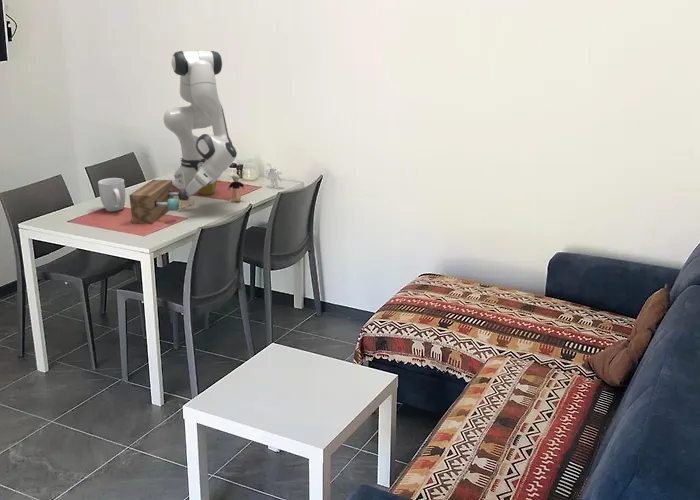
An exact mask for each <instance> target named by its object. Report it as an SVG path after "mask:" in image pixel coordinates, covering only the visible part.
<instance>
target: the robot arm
mask: <svg viewBox="0 0 700 500" xmlns="http://www.w3.org/2000/svg"><path fill="white" fill-rule="evenodd" d="M171 67H172V70H173V72H174V73H175V74H176V75H178V76H180V77H179V81H180V82H179V96H180V97H181V98H182V100H183V101H185V102H187V103H190V105H188V106H187V105H186V106H176V107H172V108H170V109H167V110H165V112H164V113H163V124H164V126H165V127H166V128H167V130H169V131H171V132H172V133H173V134H174V135H175V136H176V137H177V139H178V141H179V144H180V149H181V156H182V157H181V158H180V166H179V167H178V168H177V169H176V170H175V172H174V175H173V176H174V179H173V180H172V183H173V187H175V188H177V189H178V190H180V189H186V190H185V191H186V192H187V194H186V195H187V196H188V197H189V198H190V197H192V196H193V195H195V194H197V192H199V191H198V190H200V189H201V188H202V187H204V186H206V185H208V184H213V183H214V182H215V181H216V180H217V181H218V179H219V178H220V177H221V176H222V174H223V173H224V172H225V171H226V170H228V169H229V167H231V166H232V164H233V163H234V161H235V160H236V159H237V156H238V155H237V154H238V153H237V149H236V148H235V146H234V145H233V143H232V140H231V138H230V135H229V132H228V127H227V123H226V117H225V112H224V109H223V105H222V103H221V101H220V99H219V98H220V97H219V94H218V89H217V81H216V80H217V79H216V75H219V74H220V73H221V72H222V68H223V60H222V56H221V54H220V53H219V51H214V50H210V51H208V50H202V49H201V50H200V49H198V50H185V51H183V50H179V51H175V52H174V53H173V54H172V58H171ZM209 127H212V132H213V134H210V133H204V134H201V135H199V136H196V135H194V134H193V130H196V129H197V130H199V129H206V128H209Z"/></svg>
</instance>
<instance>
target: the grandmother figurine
mask: <svg viewBox="0 0 700 500" xmlns="http://www.w3.org/2000/svg"><path fill="white" fill-rule="evenodd" d="M231 178H232V182H231V183H230V184H229V185H228V187H227V191H229V192H230V191H231V199H232V200H231V203H235V202H237V203H240V202H242V200H241V198H242V197H241V194H242V192H241V188H242V190H246V188H245V185H244V184H243V183H242V182H241V181H239V180H240V176H239V175H238V174H236V173H235V174H233V175H232V177H231Z"/></svg>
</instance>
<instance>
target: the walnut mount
mask: <svg viewBox="0 0 700 500" xmlns="http://www.w3.org/2000/svg"><path fill="white" fill-rule="evenodd" d="M172 181H173V180H171V179H151V180H150V181H149V182H147V183H145V184H144V185H143V186H141V187H140V188H138V189H137V190H135V191H134V192H132V193H130V194H129V203H130V204H129V205H130V211H131V212H130V214H131V220H132V223H133V224H154V223H155V221H156V222H157V221H159V219H161V218H162V217H163V216H165V214H167V213H168V212H170V210H168V207H167V206H157V205H156V203H157V202H168V199H169V198H171V199H175V196H168V192H173V193H174V185H173V183H172Z"/></svg>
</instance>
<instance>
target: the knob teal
mask: <svg viewBox="0 0 700 500" xmlns="http://www.w3.org/2000/svg"><path fill="white" fill-rule="evenodd" d="M156 205H157V206H167V207H168V210H169V211H178V209H179V198H174V199H171V198H169V199H168V202H157V203H156Z"/></svg>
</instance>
